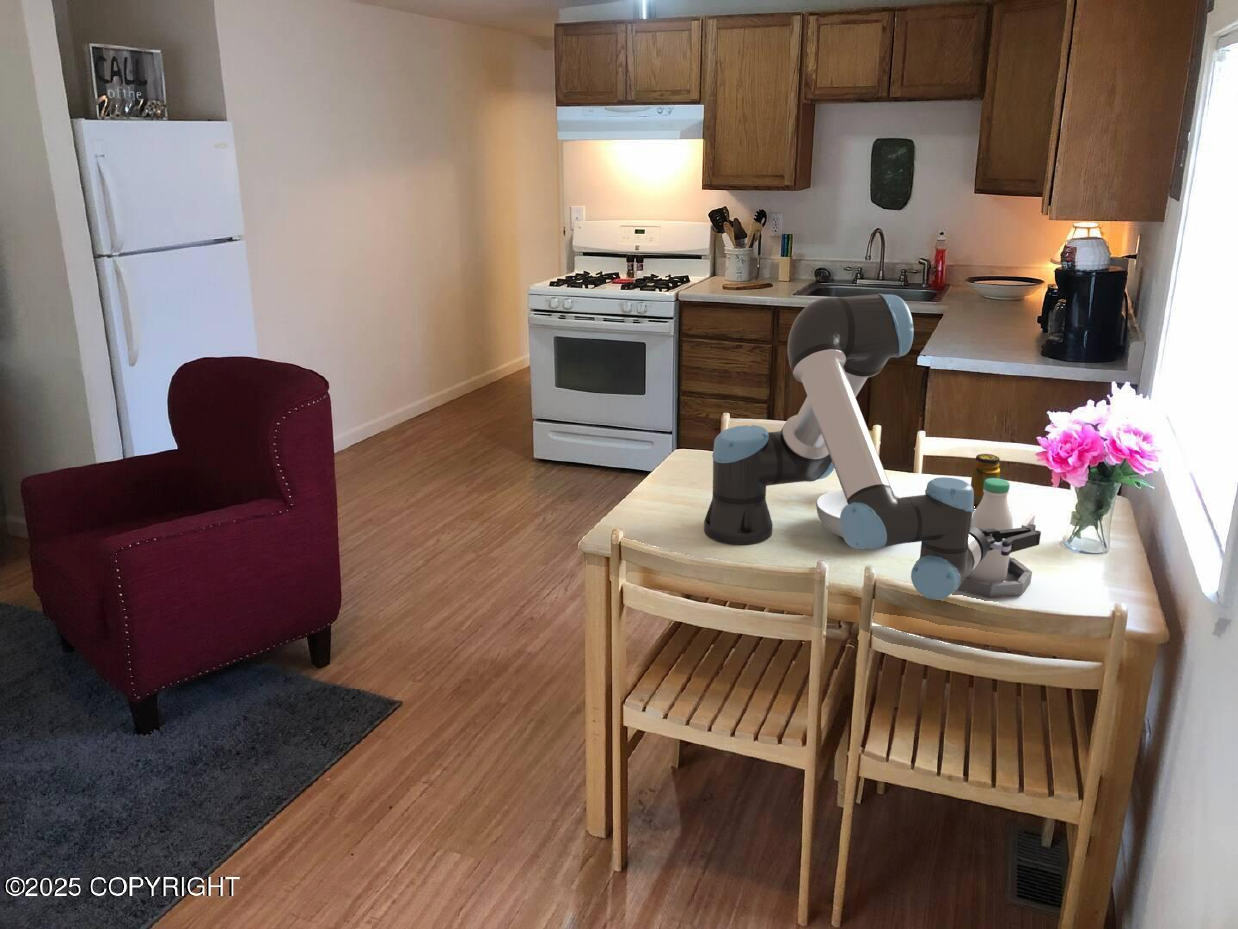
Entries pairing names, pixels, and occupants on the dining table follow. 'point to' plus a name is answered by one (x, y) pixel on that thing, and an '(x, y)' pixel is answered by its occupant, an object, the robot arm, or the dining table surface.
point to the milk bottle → (988, 517)
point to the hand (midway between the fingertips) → (995, 513)
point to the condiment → (983, 474)
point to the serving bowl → (832, 510)
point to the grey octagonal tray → (1011, 586)
